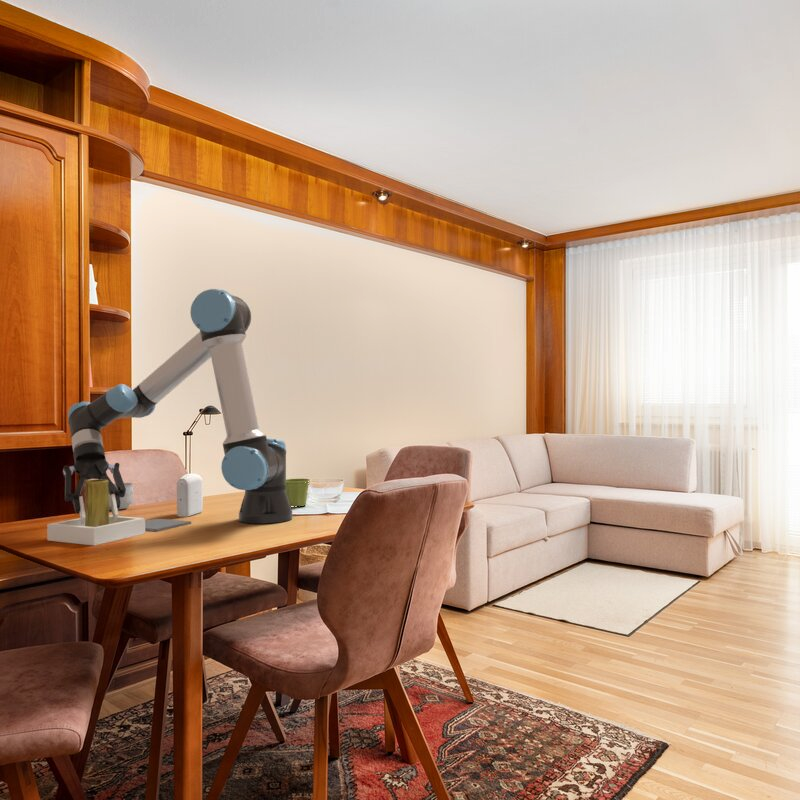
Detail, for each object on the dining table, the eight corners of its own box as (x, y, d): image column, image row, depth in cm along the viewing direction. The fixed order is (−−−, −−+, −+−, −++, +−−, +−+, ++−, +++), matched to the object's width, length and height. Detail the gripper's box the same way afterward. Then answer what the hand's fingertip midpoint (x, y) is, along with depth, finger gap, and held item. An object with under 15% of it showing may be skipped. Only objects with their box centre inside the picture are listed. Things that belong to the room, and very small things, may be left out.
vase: (78, 538, 171) (78, 481, 171) (97, 534, 176) (96, 478, 176) (97, 540, 168) (97, 482, 169) (115, 535, 174) (115, 479, 174)
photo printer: (188, 517, 202) (187, 475, 202) (174, 517, 203) (174, 475, 203) (204, 512, 212) (204, 472, 212) (192, 511, 213) (192, 472, 213)
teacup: (124, 511, 214) (124, 486, 214) (90, 511, 214) (90, 486, 214) (142, 505, 228) (142, 481, 228) (110, 505, 228) (110, 481, 228)
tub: (145, 533, 176) (145, 518, 176) (94, 545, 162) (94, 528, 162) (100, 529, 183) (100, 514, 183) (47, 540, 168) (47, 524, 168)
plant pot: (277, 508, 218) (277, 481, 218) (287, 504, 228) (287, 478, 228) (305, 509, 217) (305, 481, 217) (314, 504, 226) (314, 478, 226)
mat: (191, 523, 191) (191, 521, 191) (156, 531, 179) (156, 529, 179) (155, 520, 196) (155, 518, 196) (120, 528, 185) (120, 525, 185)
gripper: (125, 457, 191) (139, 524, 177) (46, 461, 180) (54, 532, 166) (129, 439, 186) (143, 506, 173) (48, 442, 175) (57, 513, 162)
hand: (99, 519), depth 169 cm, fingers open, 7 cm apart
